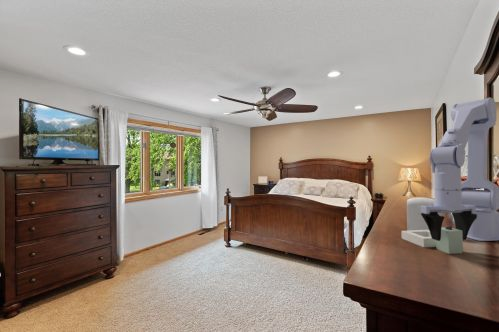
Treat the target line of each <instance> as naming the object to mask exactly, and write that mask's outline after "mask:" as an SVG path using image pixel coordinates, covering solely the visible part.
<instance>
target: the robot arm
mask: <svg viewBox="0 0 499 332" xmlns="http://www.w3.org/2000/svg"><path fill="white" fill-rule="evenodd" d="M450 117H451V120H452V122H453V123H452V126H451V128H450V129H447V130H446V131H445V133H444V135H443V136H442V138H441V141H440V142H439V145H438V146H437V147H434V149H431V151H430V155H429V162H430V166H431V171H432V174H434V178H433V179H434V199H435V204H433V205H427V206H421V216H422V217H423V219H424V220H425V222H426V224H427V226H428V228H429V231H430V234H431V237H432V239H434V240H437V241H440V239H441V227H443V223H444V220H445V216H443V215H442V216H439V214H438V213H442V214H449V213H450V214H451V215H452V217H453V221H454V225H455V229H458V230H462V238H463V240H467V239H471V240H475V241H478V242H486V241H487V242H489V241H494V242H495V241H499V211H498V210H499V186H498V185H497V184H495V183H494V182H492V181H490V180H488V144H489V143H488V136H489V132H490V131H489V130H490V128H493V127H494V126H496V122H497V105H496V100H495V99H493V98H492V97H487V98H484V99H477V100H472V101H467V102H461V103H455V104H454V103H453V105H452V107H451V109H450ZM466 147H467V168H466V169H467V173H466V175H467V179H465V180H463V181H462V168H461V167H463V166H464V164H465V160H466V149H465V148H466Z"/></svg>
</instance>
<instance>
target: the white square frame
mask: <svg viewBox="0 0 499 332" xmlns="http://www.w3.org/2000/svg"><path fill="white" fill-rule="evenodd" d="M401 239H402V240H404V241H407V242H410V243H411V244H414V245H417V246H420V247H422V248H436V240H434V239H432V237H431V234H430V231H429V230H409V231H408V230H401Z"/></svg>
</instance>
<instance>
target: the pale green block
mask: <svg viewBox="0 0 499 332" xmlns="http://www.w3.org/2000/svg"><path fill="white" fill-rule="evenodd" d="M463 243H464V242H463V238H462V230H458V229H456V228H453V227H452V225H445V226H444V227H443V226H442V227H441V239H440V241H437V240H436V247H435V248H436V250H437V251H440V252H443V253H446V254H449V255H452V254H464V249H463V248H464V246H463V245H464V244H463Z"/></svg>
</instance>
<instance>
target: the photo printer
mask: <svg viewBox="0 0 499 332" xmlns="http://www.w3.org/2000/svg"><path fill="white" fill-rule="evenodd" d="M433 204H435V198H430V197H421V196H420V197H418V196H417V197H411V198H409V199H407V200H406V223H407V225H406V226H407V229H406V230H407V231H409V230H429V228H428V226H427V224H426V222H425V220H424V219H423V217H422V216H421V206H427V205H433ZM438 214H439V216H443V215H442V214H443V213H438Z"/></svg>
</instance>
